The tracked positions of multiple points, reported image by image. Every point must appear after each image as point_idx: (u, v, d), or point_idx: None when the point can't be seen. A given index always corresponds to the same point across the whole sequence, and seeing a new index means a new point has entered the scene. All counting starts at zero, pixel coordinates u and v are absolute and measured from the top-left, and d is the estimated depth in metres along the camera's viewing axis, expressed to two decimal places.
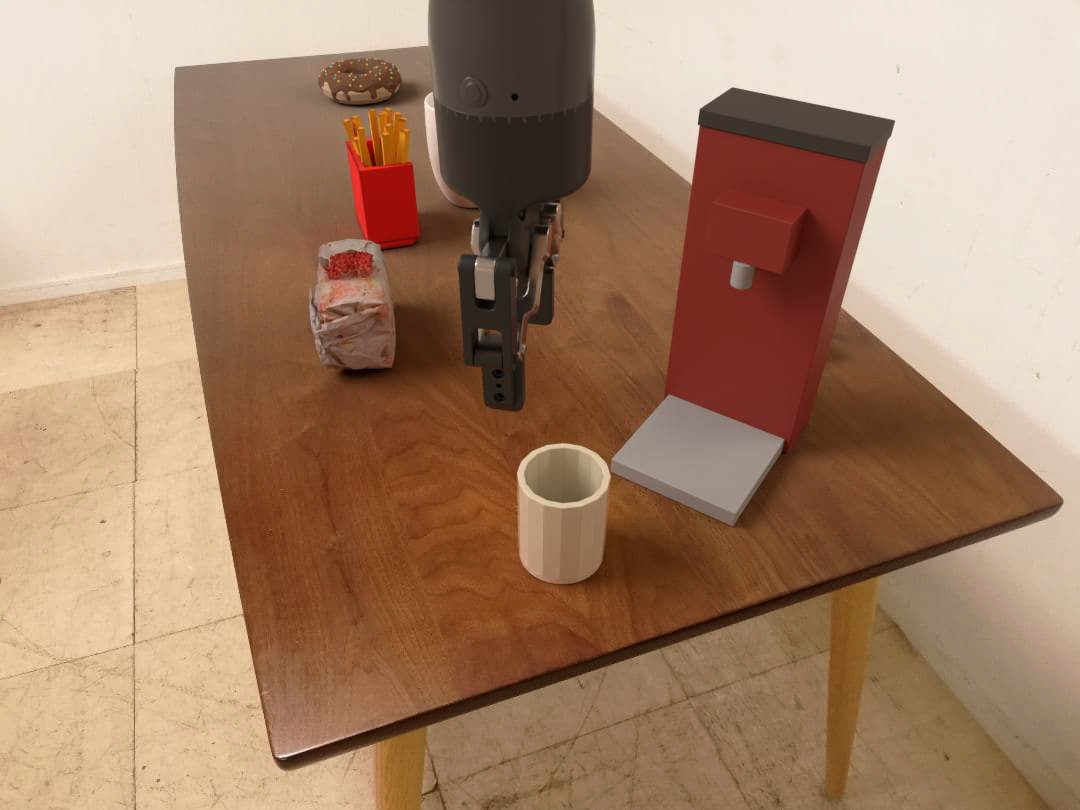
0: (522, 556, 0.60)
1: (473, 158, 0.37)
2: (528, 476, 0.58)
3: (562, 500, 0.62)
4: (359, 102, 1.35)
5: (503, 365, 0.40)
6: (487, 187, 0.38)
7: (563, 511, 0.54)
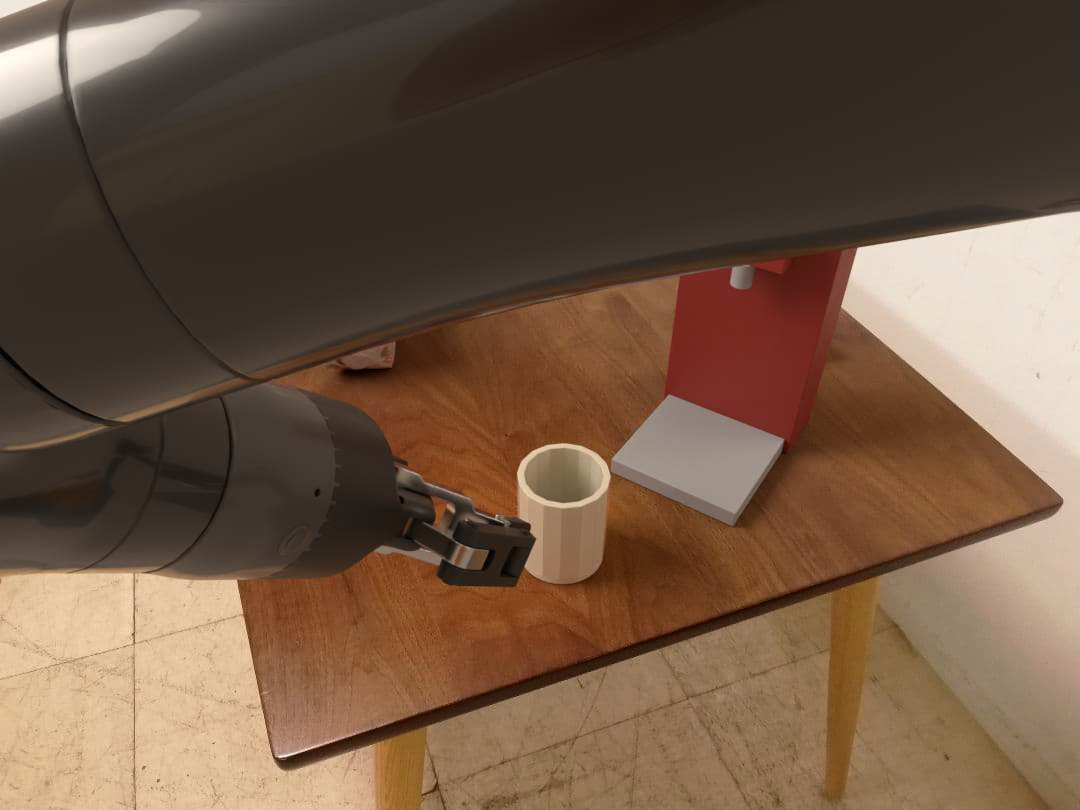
0: None
1: (342, 547, 0.31)
2: (528, 476, 0.58)
3: (562, 500, 0.62)
4: None
5: (530, 547, 0.38)
6: (371, 535, 0.32)
7: (563, 511, 0.54)
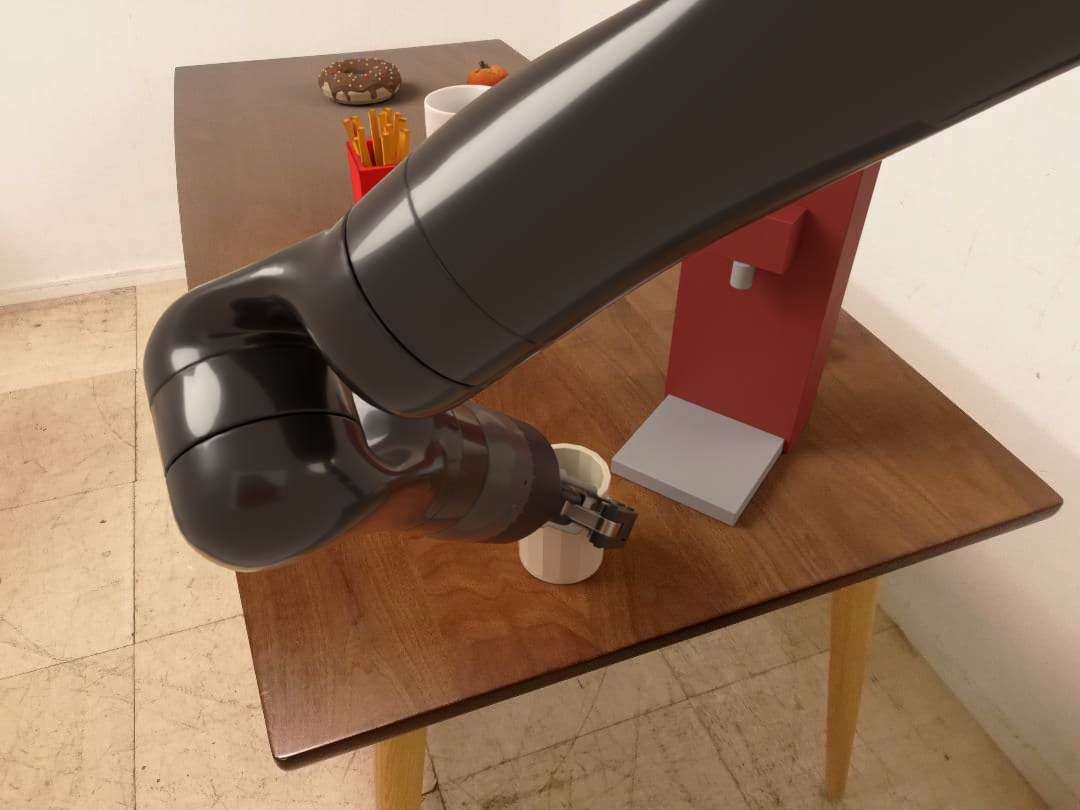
0: (522, 556, 0.60)
1: (530, 520, 0.46)
2: None
3: None
4: (359, 102, 1.35)
5: (634, 519, 0.53)
6: (546, 513, 0.47)
7: None
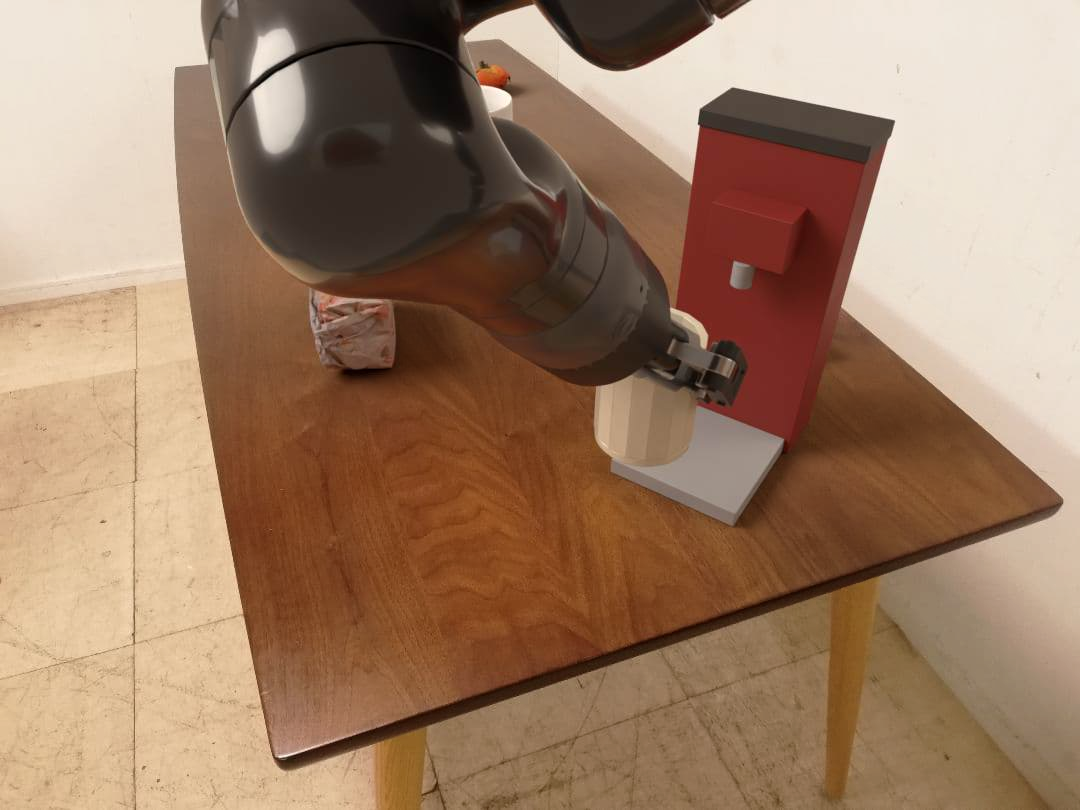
0: (600, 436, 0.52)
1: (640, 347, 0.38)
2: None
3: None
4: None
5: (743, 374, 0.45)
6: (655, 343, 0.39)
7: (657, 369, 0.47)
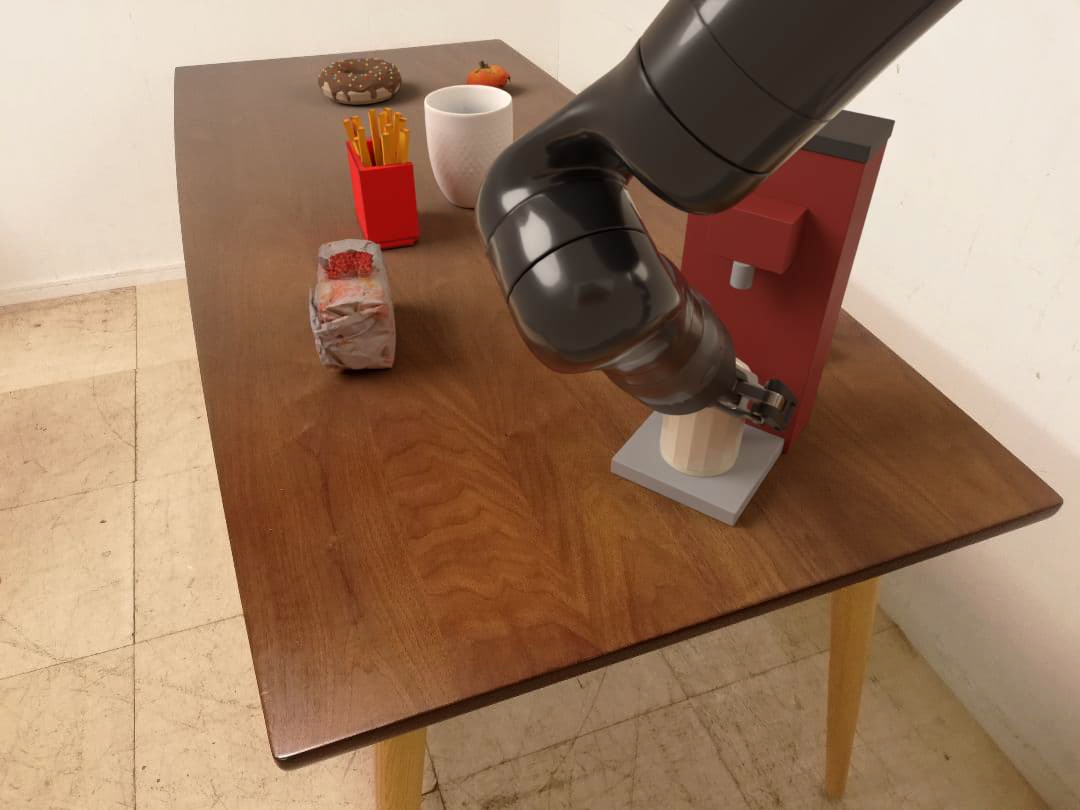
0: (666, 453, 0.67)
1: (716, 388, 0.52)
2: None
3: None
4: (359, 102, 1.35)
5: (794, 406, 0.59)
6: (725, 384, 0.53)
7: None
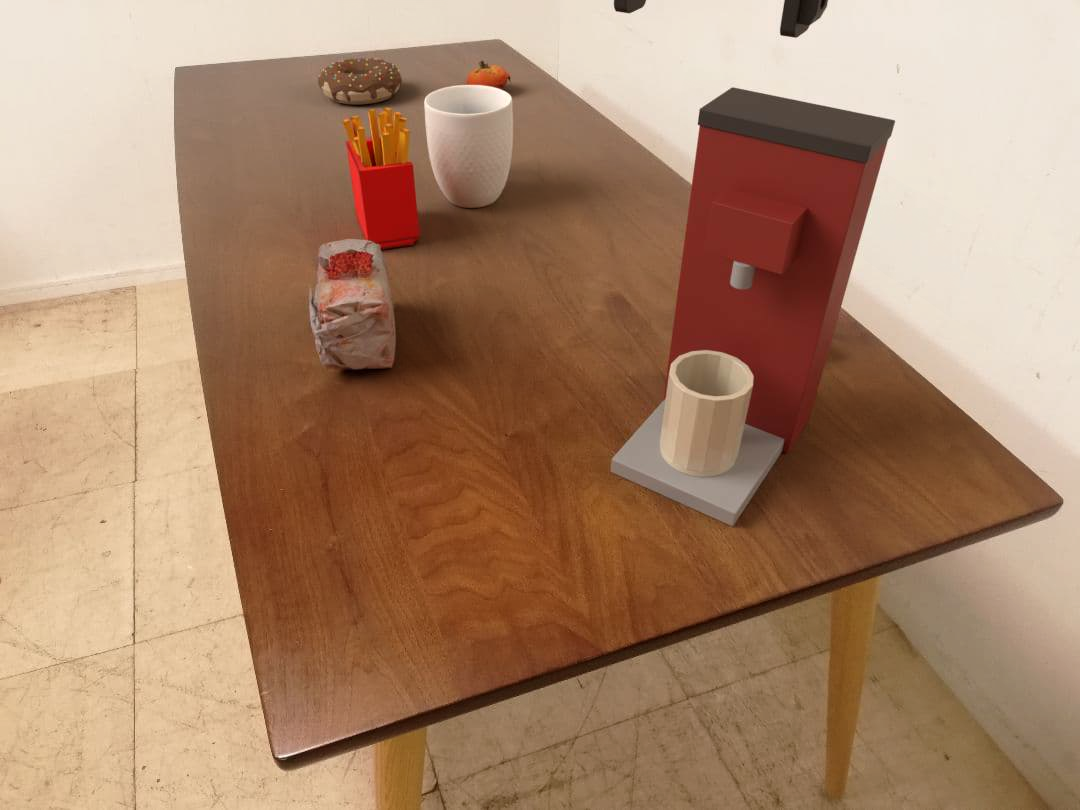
0: (666, 453, 0.67)
1: None
2: None
3: None
4: (359, 102, 1.35)
5: None
6: None
7: (716, 403, 0.61)
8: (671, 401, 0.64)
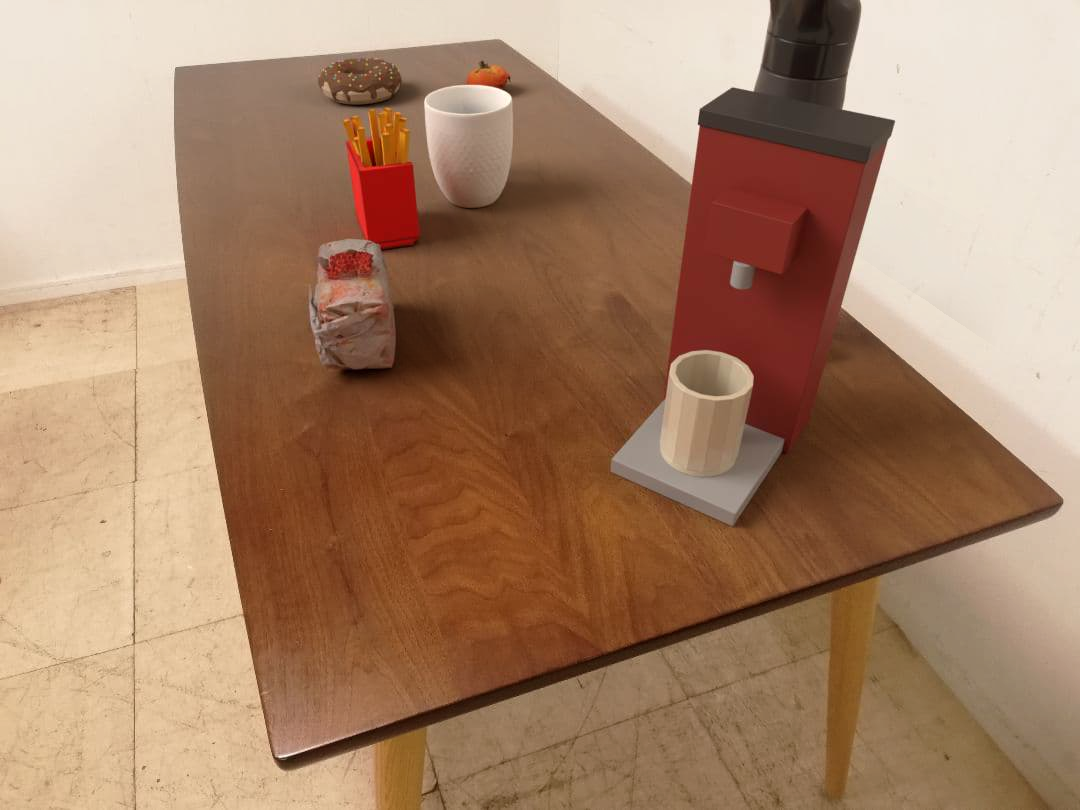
0: (666, 453, 0.67)
1: None
2: None
3: None
4: (359, 102, 1.35)
5: None
6: None
7: (716, 403, 0.61)
8: (671, 401, 0.64)
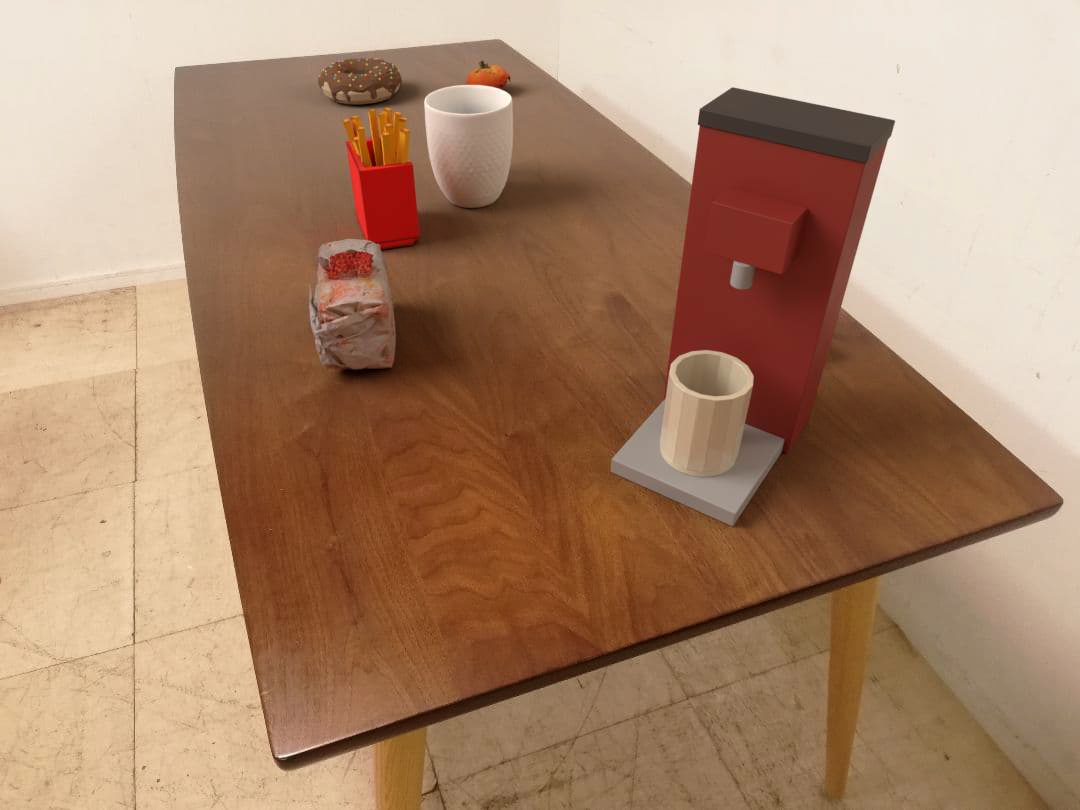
0: (666, 453, 0.67)
1: None
2: None
3: None
4: (359, 102, 1.35)
5: None
6: None
7: (716, 403, 0.61)
8: (671, 401, 0.64)
